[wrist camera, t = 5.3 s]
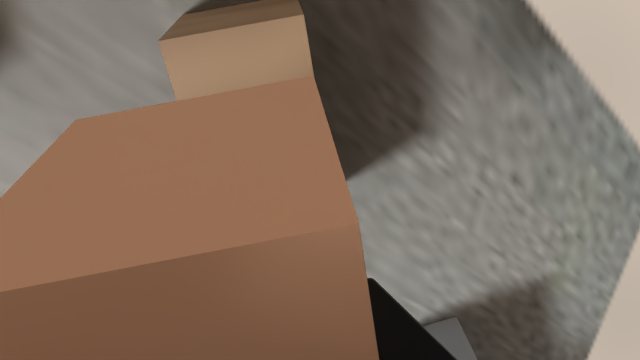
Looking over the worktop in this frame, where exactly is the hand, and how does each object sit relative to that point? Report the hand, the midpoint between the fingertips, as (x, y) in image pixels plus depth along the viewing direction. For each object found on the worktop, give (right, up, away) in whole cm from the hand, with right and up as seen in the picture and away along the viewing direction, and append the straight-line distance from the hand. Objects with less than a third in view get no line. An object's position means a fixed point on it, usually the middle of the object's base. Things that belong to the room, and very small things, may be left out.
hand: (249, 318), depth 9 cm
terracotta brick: (0, +1, +1) cm, 1 cm away
